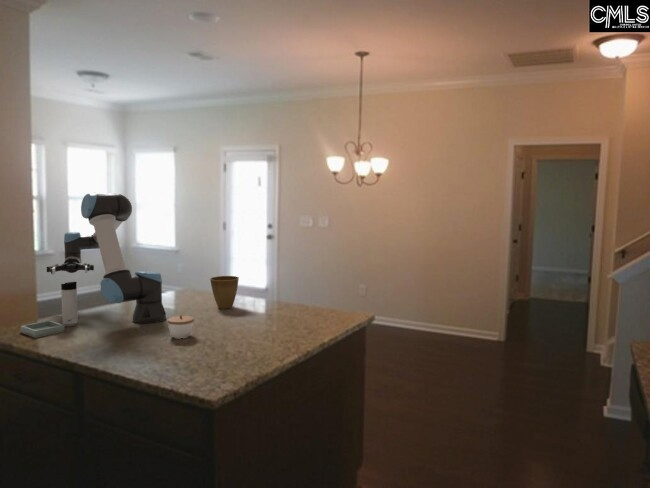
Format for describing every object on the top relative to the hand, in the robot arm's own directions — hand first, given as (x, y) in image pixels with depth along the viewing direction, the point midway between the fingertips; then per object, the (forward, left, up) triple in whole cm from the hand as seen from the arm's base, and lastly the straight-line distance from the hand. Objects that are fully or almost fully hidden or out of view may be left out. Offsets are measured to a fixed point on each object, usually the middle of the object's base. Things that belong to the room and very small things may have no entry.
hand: (69, 270), depth 229 cm
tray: (-10, +18, -23) cm, 31 cm away
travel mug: (-8, +5, -24) cm, 26 cm away
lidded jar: (-62, -14, -24) cm, 68 cm away
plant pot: (-36, -63, -24) cm, 77 cm away
